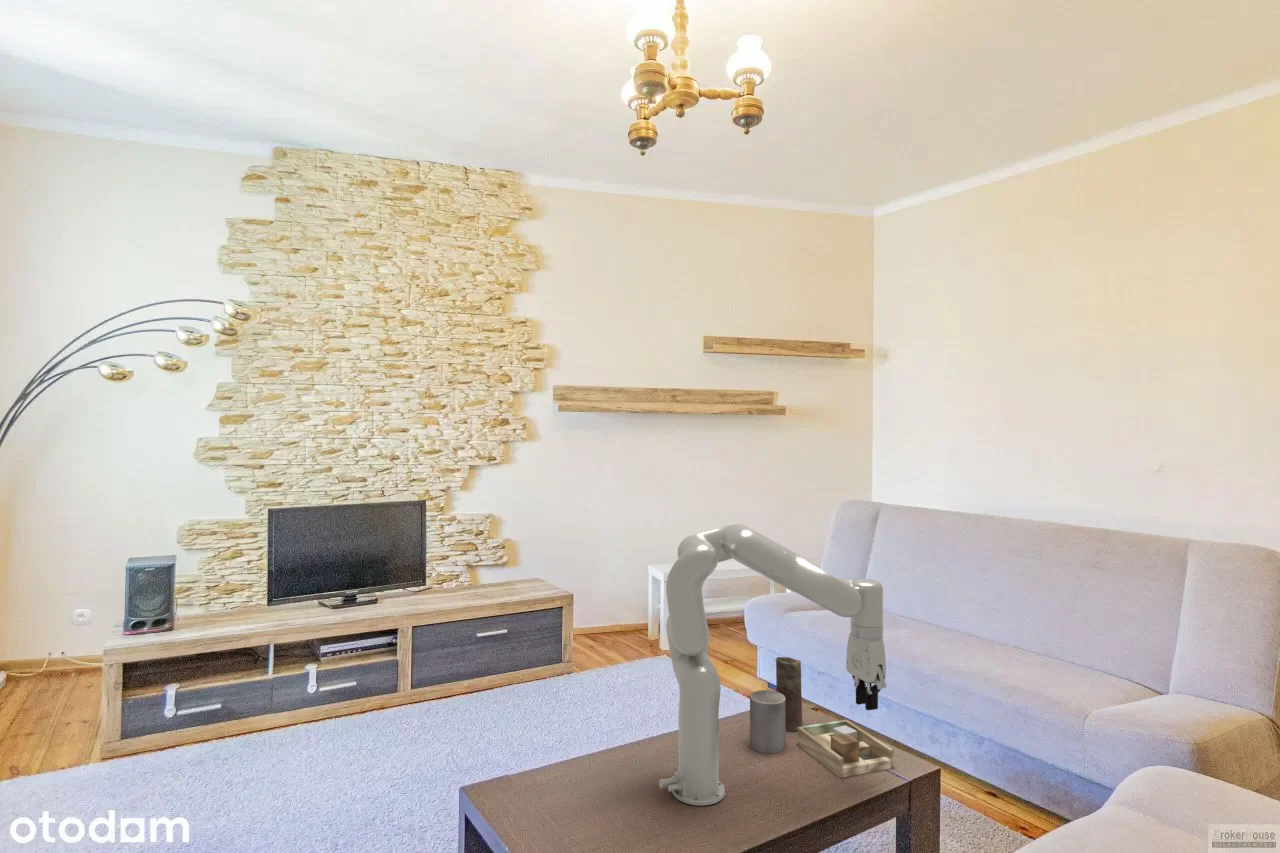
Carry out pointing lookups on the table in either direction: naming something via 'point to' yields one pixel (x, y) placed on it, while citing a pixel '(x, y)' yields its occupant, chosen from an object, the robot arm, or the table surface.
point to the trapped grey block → (845, 731)
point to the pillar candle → (767, 721)
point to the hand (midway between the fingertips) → (866, 705)
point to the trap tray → (819, 746)
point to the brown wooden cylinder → (790, 690)
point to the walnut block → (846, 747)
